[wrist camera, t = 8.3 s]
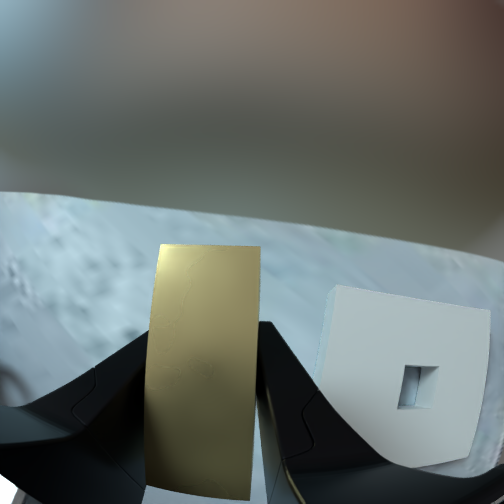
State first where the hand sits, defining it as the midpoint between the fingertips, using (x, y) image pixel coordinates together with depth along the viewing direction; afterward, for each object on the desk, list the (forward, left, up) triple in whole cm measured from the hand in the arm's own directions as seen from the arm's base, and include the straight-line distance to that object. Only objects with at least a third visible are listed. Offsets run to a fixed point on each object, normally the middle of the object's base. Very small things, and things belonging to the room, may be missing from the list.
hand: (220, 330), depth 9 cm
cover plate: (-9, -8, -10) cm, 16 cm away
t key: (-1, +1, -9) cm, 9 cm away
